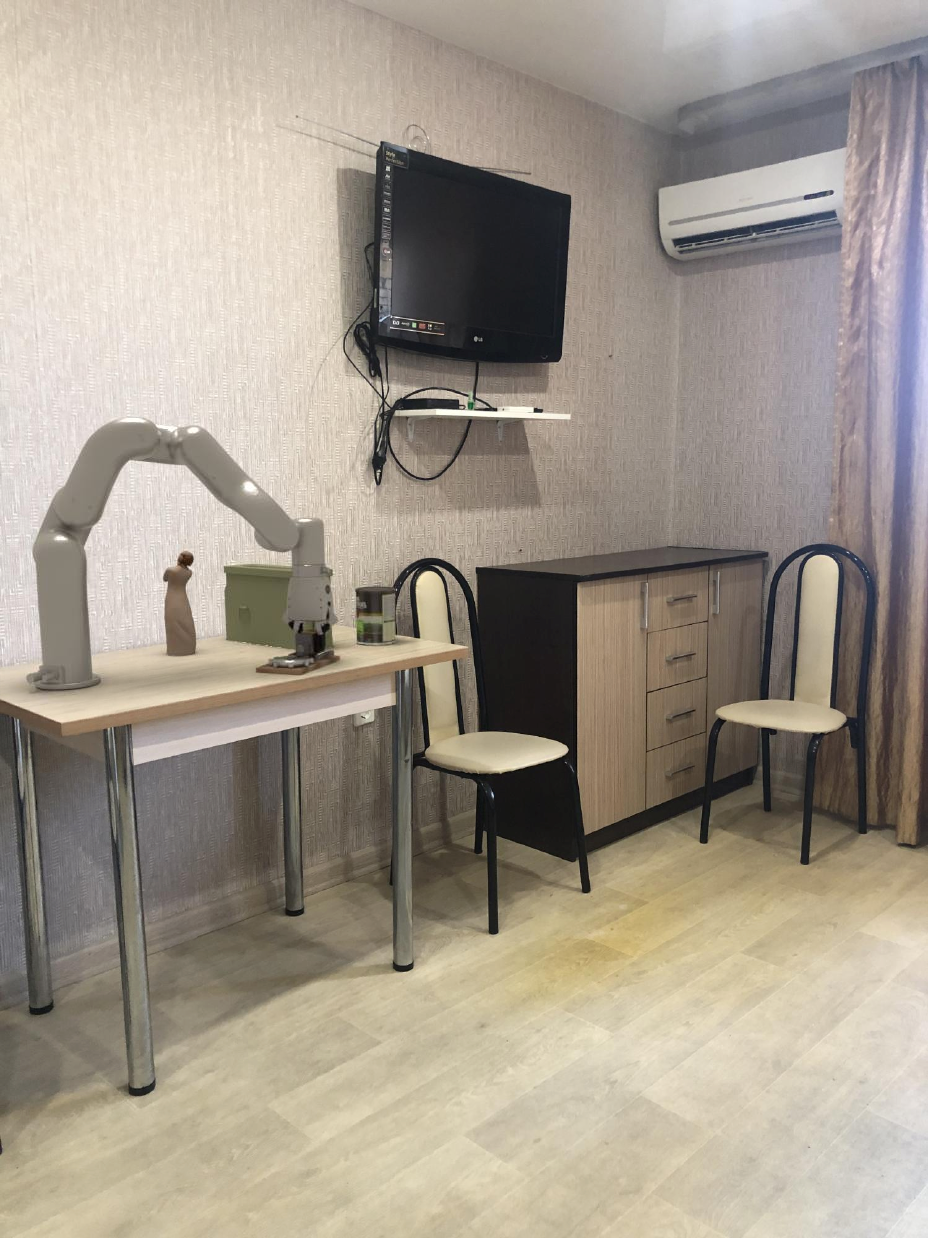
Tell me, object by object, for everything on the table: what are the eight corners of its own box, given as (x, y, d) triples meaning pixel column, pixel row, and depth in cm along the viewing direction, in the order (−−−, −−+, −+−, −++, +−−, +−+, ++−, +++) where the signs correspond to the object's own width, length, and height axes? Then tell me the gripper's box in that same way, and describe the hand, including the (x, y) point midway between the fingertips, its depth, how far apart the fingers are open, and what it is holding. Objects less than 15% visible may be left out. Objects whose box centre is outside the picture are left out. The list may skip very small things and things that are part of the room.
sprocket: (259, 664, 220) (258, 648, 219) (291, 657, 227) (290, 642, 227) (291, 669, 214) (290, 652, 213) (322, 662, 222) (322, 645, 221)
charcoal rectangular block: (311, 656, 225) (310, 634, 225) (295, 655, 227) (295, 633, 226) (325, 651, 232) (325, 629, 231) (310, 650, 233) (309, 628, 233)
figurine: (202, 650, 247) (198, 549, 243) (190, 656, 238) (185, 552, 235) (172, 650, 247) (167, 550, 244) (158, 656, 239) (153, 552, 236)
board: (300, 675, 214) (300, 665, 214) (255, 672, 218) (255, 662, 217) (340, 659, 232) (339, 650, 231) (298, 657, 235) (298, 648, 235)
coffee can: (364, 647, 249) (362, 591, 247) (351, 641, 259) (349, 587, 257) (402, 644, 254) (401, 589, 252) (388, 638, 263) (387, 585, 261)
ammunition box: (310, 652, 242) (308, 571, 239) (224, 640, 262) (220, 565, 259) (338, 647, 250) (336, 568, 247) (252, 635, 270) (249, 562, 267)
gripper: (349, 571, 228) (350, 649, 230) (284, 569, 233) (286, 646, 236) (334, 574, 221) (336, 655, 223) (268, 572, 226) (270, 651, 229)
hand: (310, 649), depth 229 cm, fingers open, 4 cm apart
